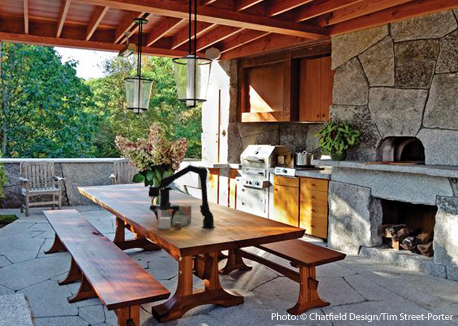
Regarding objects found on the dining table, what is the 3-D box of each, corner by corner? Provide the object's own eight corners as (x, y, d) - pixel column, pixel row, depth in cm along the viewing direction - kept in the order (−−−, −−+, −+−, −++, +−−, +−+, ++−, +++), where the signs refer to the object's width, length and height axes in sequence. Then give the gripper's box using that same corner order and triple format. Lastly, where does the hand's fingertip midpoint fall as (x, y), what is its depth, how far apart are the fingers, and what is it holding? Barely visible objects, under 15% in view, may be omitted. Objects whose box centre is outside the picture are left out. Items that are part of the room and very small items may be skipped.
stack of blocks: (161, 220, 294) (161, 203, 293) (166, 219, 299) (166, 202, 298) (186, 224, 283) (186, 206, 282) (191, 222, 289) (191, 205, 288)
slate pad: (174, 227, 273) (174, 226, 273) (164, 230, 265) (164, 229, 265) (165, 225, 278) (165, 224, 278) (155, 227, 271) (155, 227, 271)
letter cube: (181, 228, 272) (181, 221, 272) (181, 229, 268) (181, 223, 268) (175, 228, 272) (175, 221, 272) (174, 229, 268) (174, 223, 268)
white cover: (170, 225, 275) (170, 216, 275) (169, 228, 269) (170, 219, 268) (160, 225, 275) (160, 216, 274) (159, 228, 268) (159, 219, 268)
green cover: (186, 224, 283) (187, 215, 282) (181, 226, 277) (181, 217, 276) (178, 223, 286) (178, 214, 286) (172, 224, 280) (172, 216, 280)
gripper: (148, 198, 262) (148, 223, 263) (178, 199, 263) (178, 223, 264) (151, 196, 273) (150, 219, 274) (179, 196, 274) (179, 219, 275)
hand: (164, 220), depth 271 cm, fingers open, 9 cm apart
